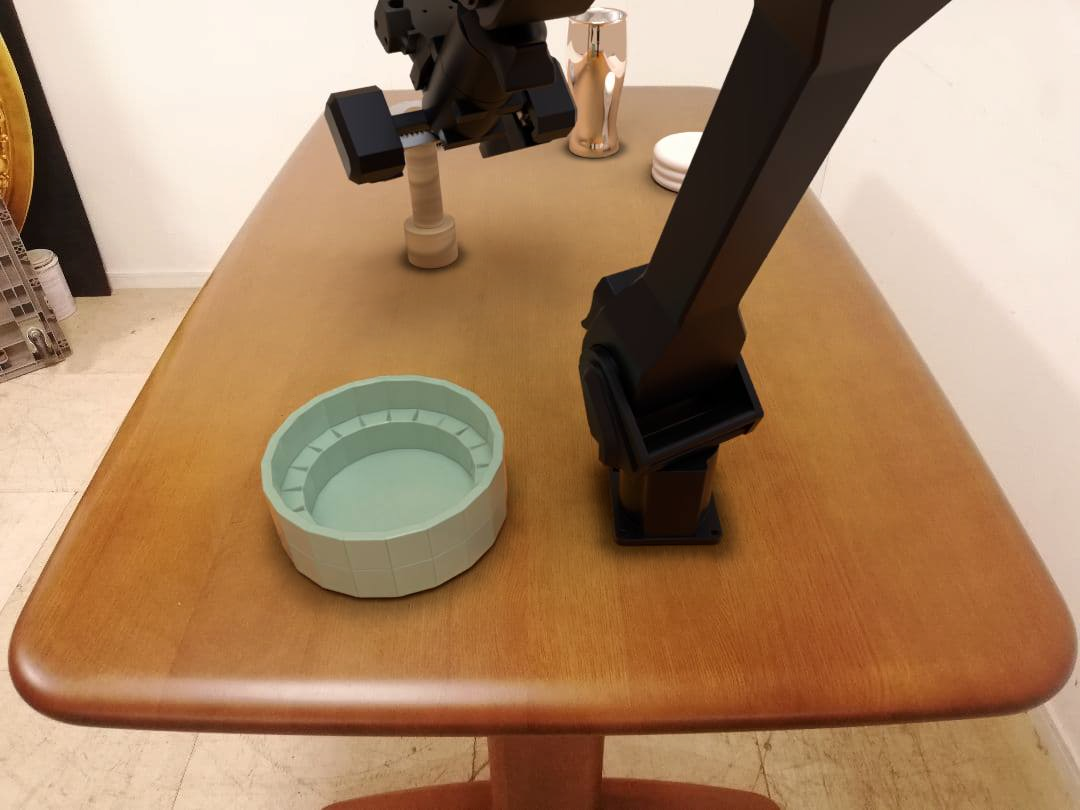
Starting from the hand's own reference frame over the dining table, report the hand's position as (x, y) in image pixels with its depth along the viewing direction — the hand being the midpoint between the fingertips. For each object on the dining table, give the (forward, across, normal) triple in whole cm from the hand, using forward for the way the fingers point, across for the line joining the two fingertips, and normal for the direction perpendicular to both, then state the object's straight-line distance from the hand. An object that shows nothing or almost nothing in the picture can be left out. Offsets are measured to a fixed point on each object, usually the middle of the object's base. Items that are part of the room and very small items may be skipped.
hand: (434, 164), depth 67 cm
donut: (+30, -11, -15) cm, 36 cm away
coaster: (+10, -33, +4) cm, 35 cm away
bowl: (-12, +15, +26) cm, 32 cm away
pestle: (+9, 0, +5) cm, 11 cm away
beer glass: (+20, -28, -5) cm, 34 cm away
